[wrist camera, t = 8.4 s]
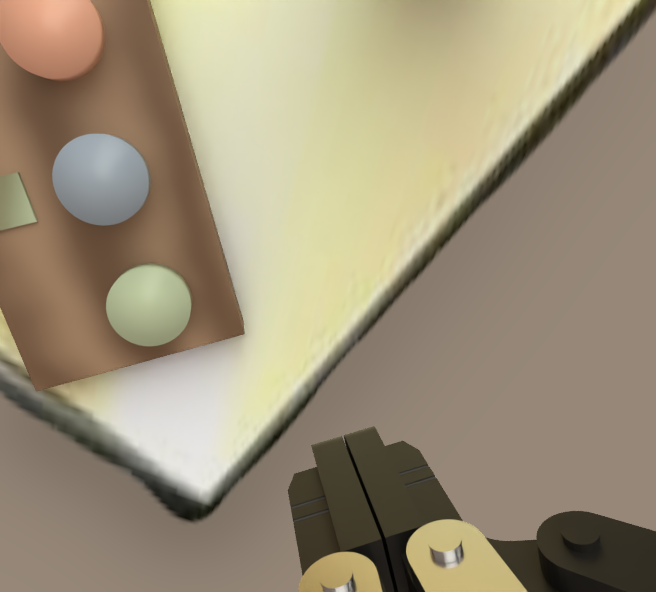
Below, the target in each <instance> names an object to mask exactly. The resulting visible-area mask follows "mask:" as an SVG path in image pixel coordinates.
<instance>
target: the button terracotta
mask: <svg viewBox="0 0 656 592" xmlns="http://www.w3.org/2000/svg"><path fill="white" fill-rule="evenodd" d="M0 43H1V45H2V46H3V48H4V50H5V51H6V53H7V54H8V55H9V56H10V57H11V59H12V60H13V61H14V62H16V63H17V64H18V65H19V66H20V67H22V68H23V69H25V70H27V71H29V72H30V73H33V74H35V75H38V76H41V77H44V78H47V79H51V80H56V81H69V80H74V79H78V78H80V77H82V76H84V75H86V74H87V73H89V72H90V71H91V70H92V69H93V68H94V67H95V66H96V65H97V63H98V62H99V60H100V58H101V56H102V54H103V50H104V45H105V30H104V25H103V22H102V19H101V16H100V14H99V12H98V10H97V9H96V7H95V6H94V4H93V3H92V2H91V1H90V0H0Z"/></svg>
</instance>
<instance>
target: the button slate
mask: <svg viewBox="0 0 656 592" xmlns="http://www.w3.org/2000/svg"><path fill="white" fill-rule="evenodd" d="M52 180H53V186H54V189H55V192H56V195H57V197H58V199H59V200H60V202H61V203H62V205H63V206H64V207H65V208H66V209H67V210H68V211H69V212H70V213H71V214H72V215H74V216H75V217H77V218H78V219H80V220H82V221H84V222H87V223H90V224H94V225H103V226H105V225H114V224H118V223H121V222H123V221H125V220H127V219H129V218H130V217H132V216H133V215H134V214H135V213H136V212H138V211H139V210H140V209H141V208H142V206H143V205H144V204H145V202H146V200H147V198H148V196H149V193H150V188H151V174H150V170H149V167H148V164H147V162H146V160H145V158H144V157H143V155H142V154H141V153H140V151H139V150H138V149H137V148H136V147H135V146H133V145H132V144H131V143H129V142H128V141H126V140H124V139H122V138H120V137H117V136H114V135H110V134H87V135H83V136H80V137H77V138H75V139H73V140H72V141H70V142H68V143H67V144H66V145H65V146H64V147H63V148H62V149H61V151H60V152H59V154H58V155H57V157H56V159H55V162H54V166H53V172H52Z"/></svg>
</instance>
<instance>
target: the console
mask: <svg viewBox="0 0 656 592" xmlns="http://www.w3.org/2000/svg"><path fill="white" fill-rule="evenodd" d="M90 1H91V2H92V3H93V4H94V6H95V7H96V9H97V10H98V12H99V14H100V16H101V19H102V22H103V25H104V30H105V45H104V50H103V54H102V56H101V58H100V60H99V62H98V63H97V65H96V66H95V67H94V68H93V69H92V70H91V71H90V72H89V73H87V74H86V75H84V76H82V77H80V78H78V79H74V80H69V81H56V80H51V79H47V78H44V77H41V76H38V75H35V74H33V73H30V72H29V71H27V70H25V69H23V68H22V67H20V66H19V65H18V64H17V63H16V62H14V61H13V60H12V59H11V57H10V56H9V55H8V54H7V53H6V51H5V50H4V48H3V46H2V45H1V43H0V307H1V310H2V312H3V314H4V317H5V319H6V322H7V324H8V326H9V329H10V331H11V333H12V336H13V338H14V340H15V343H16V345H17V347H18V350H19V352H20V354H21V357H22V359H23V362H24V364H25V366H26V369H27V371H28V373H29V376H30V378H31V380H32V383H33V385H34V387H35V390H36V391H40V390H43V389H47V388H50V387H54V386H58V385H61V384H65V383H69V382H72V381H76V380H79V379H83V378H87V377H90V376H94V375H98V374H101V373H105V372H108V371H112V370H116V369H119V368H123V367H127V366H130V365H134V364H138V363H141V362H145V361H148V360H152V359H156V358H159V357H163V356H167V355H170V354H174V353H177V352H181V351H185V350H188V349H192V348H196V347H199V346H203V345H206V344H210V343H214V342H217V341H221V340H225V339H228V338H232V337H235V336H239V335H243V334H244V323H243V318H242V315H241V311H240V308H239V304H238V301H237V297H236V294H235V291H234V287H233V284H232V280H231V277H230V273H229V270H228V267H227V263H226V260H225V256H224V253H223V249H222V246H221V243H220V239H219V236H218V232H217V229H216V225H215V222H214V219H213V215H212V212H211V208H210V205H209V201H208V198H207V194H206V191H205V188H204V184H203V181H202V177H201V174H200V170H199V167H198V164H197V160H196V157H195V153H194V150H193V146H192V143H191V140H190V136H189V133H188V129H187V126H186V122H185V119H184V116H183V112H182V109H181V105H180V102H179V98H178V95H177V92H176V88H175V85H174V81H173V78H172V74H171V71H170V67H169V64H168V61H167V57H166V54H165V50H164V47H163V43H162V40H161V37H160V33H159V30H158V26H157V23H156V19H155V16H154V13H153V9H152V6H151V2H150V0H90ZM87 134H110V135H114V136H117V137H120V138H122V139H124V140H126V141H128V142H129V143H131V144H132V145H133V146H135V147H136V148H137V149H138V150H139V151H140V153H141V154H142V155H143V157H144V158H145V160H146V162H147V164H148V167H149V170H150V174H151V188H150V193H149V196H148V198H147V200H146V202H145V204H144V205H143V206H142V208H141V209H140V210H139V211H138V212H136V213H135V214H134V215H133V216H132V217H130V218H129V219H127V220H125V221H123V222H121V223H118V224H114V225H105V226H103V225H94V224H90V223H87V222H84V221H82V220H80V219H78V218H77V217H75V216H74V215H72V214H71V213H70V212H69V211H68V210H67V209H66V208H65V207H64V206H63V205H62V203H61V202H60V200H59V199H58V197H57V195H56V192H55V189H54V186H53V180H52V172H53V166H54V162H55V159H56V157H57V155H58V154H59V152H60V151H61V149H62V148H63V147H64V146H65V145H66V144H67V143H68V142H70V141H72V140H73V139H75V138H77V137H80V136H83V135H87ZM143 263H158V264H162V265H166V266H168V267H170V268H172V269H174V270H175V271H177V272H178V273H179V274H180V275H181V276H182V277H183V278H184V279H185V281H186V282H187V284H188V286H189V288H190V291H191V295H192V308H191V313H190V318H189V321H188V323H187V325H186V327H185V328H184V330H183V331H182V332H181V333H180V335H178V336H177V337H176V338H175V339H173V340H172V341H170V342H168V343H165V344H162V345H158V346H141V345H137V344H134V343H131V342H129V341H127V340H125V339H124V338H123V337H121V336H120V335H119V334H118V333H117V332H116V331H115V330H114V329H113V327H112V325H111V324H110V322H109V319H108V316H107V312H106V301H107V296H108V293H109V291H110V289H111V287H112V286H113V284H114V283H115V282H116V280H117V279H118V278H119V277H120V275H121V274H122V273H124V272H125V271H126V270H128V269H129V268H131V267H133V266H135V265H138V264H143Z"/></svg>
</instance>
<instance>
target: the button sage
mask: <svg viewBox="0 0 656 592" xmlns="http://www.w3.org/2000/svg"><path fill="white" fill-rule="evenodd" d="M191 308H192V295H191V291H190V288H189V286H188V284H187V282H186V281H185V279H184V278H183V277H182V276H181V275H180V274H179V273H178V272H177V271H175V270H174V269H172V268H170V267H168V266H166V265H162V264H158V263H143V264H138V265H135V266H133V267H131V268H129V269H128V270H126V271H125V272H124V273H122V274H121V275H120V277H119V278H118V279H117V280H116V282H115V283H114V284H113V286H112V287H111V289H110V291H109V293H108V296H107V301H106V312H107V316H108V319H109V322H110V324H111V325H112V327H113V329H114V330H115V331H116V332H117V333H118V334H119V335H120V336H121V337H123V338H124V339H125V340H127V341H129V342H131V343H134V344H137V345H141V346H158V345H162V344H165V343H168V342H170V341H172V340H173V339H175V338H176V337H177V336H178V335H180V333H181V332H182V331H183V330H184V328H185V327H186V325H187V323H188V321H189V318H190V313H191Z"/></svg>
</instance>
